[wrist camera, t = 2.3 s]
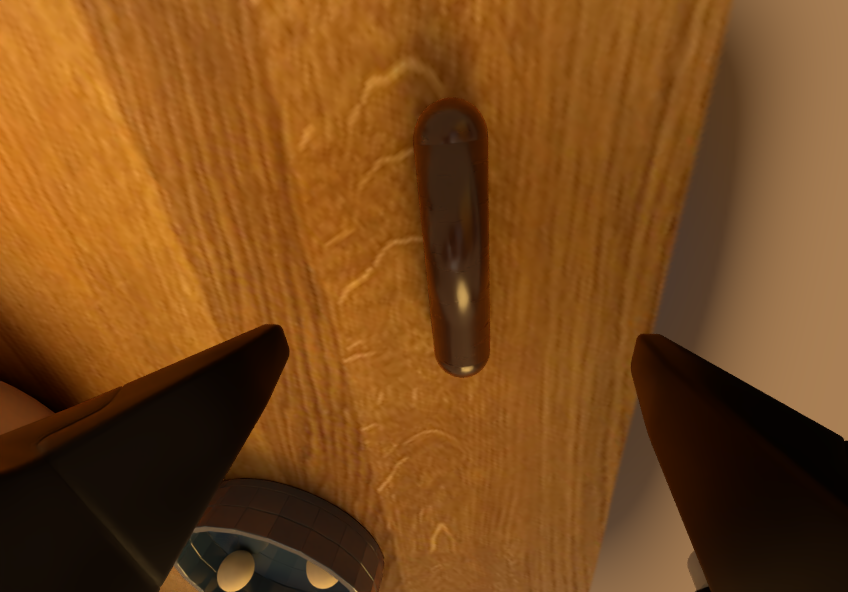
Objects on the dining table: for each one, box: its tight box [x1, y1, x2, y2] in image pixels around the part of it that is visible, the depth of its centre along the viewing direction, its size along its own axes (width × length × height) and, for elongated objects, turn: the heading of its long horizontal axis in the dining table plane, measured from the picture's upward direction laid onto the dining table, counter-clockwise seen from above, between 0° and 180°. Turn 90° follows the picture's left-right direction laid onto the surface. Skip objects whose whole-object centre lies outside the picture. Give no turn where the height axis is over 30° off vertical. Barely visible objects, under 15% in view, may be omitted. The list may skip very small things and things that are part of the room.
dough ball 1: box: [217, 550, 255, 592], centre depth 30 cm, size 3×3×3 cm
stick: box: [413, 98, 490, 378], centre depth 13 cm, size 11×2×2 cm, turn 6°
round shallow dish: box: [174, 479, 384, 592], centre depth 28 cm, size 16×16×4 cm
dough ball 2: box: [306, 560, 338, 589], centre depth 26 cm, size 3×3×3 cm
